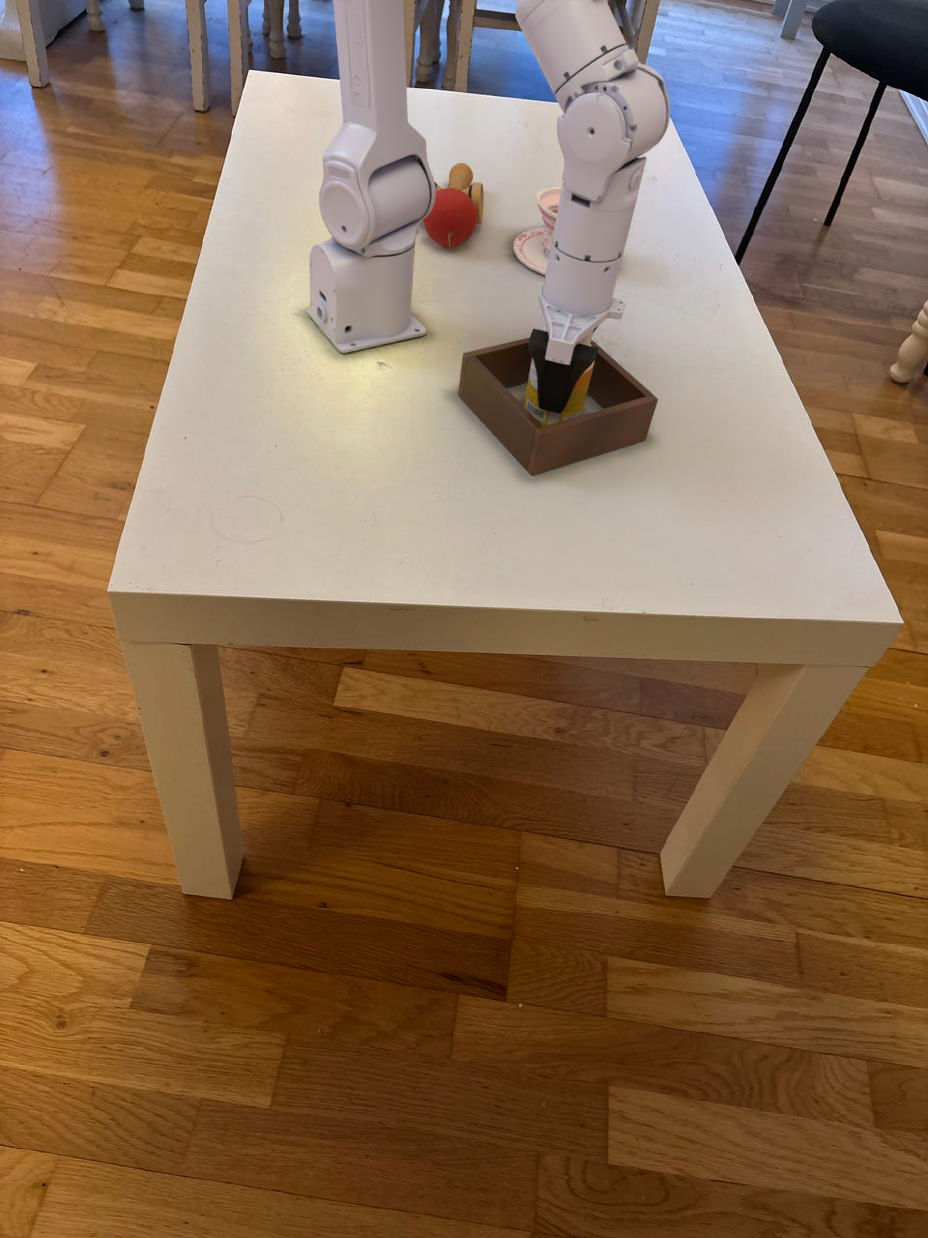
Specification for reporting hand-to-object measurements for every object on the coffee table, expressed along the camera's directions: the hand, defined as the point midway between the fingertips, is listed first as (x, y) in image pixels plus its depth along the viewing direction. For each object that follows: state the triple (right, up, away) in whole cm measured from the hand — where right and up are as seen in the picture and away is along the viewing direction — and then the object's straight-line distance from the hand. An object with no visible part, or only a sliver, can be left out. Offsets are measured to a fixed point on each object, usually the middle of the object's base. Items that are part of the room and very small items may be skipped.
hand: (556, 390), depth 82 cm
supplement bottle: (0, -2, +2) cm, 3 cm away
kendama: (-10, +27, +26) cm, 39 cm away
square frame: (0, -2, +2) cm, 3 cm away
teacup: (+3, +21, +23) cm, 32 cm away
